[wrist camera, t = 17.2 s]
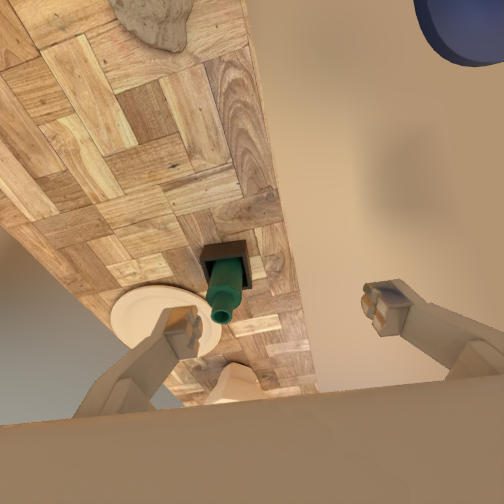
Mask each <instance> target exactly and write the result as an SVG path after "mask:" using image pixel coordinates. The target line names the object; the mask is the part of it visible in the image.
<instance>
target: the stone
mask: <svg viewBox="0 0 504 504" xmlns="http://www.w3.org/2000/svg"><path fill="white" fill-rule="evenodd" d="M108 1H109V3H110V4H111V6H112V8H113V10H114V12H115V15H116V17H117V18H118V20H119V21H120V22H121V24H122V25H123V26H124V27H126V29H127V30H128V31H133V32H134V34H135V35H136V36H137V37H139V38H140V39H141V40H142V41H144V42H145V43H147V44H148V45H150V46H152V47H155V48H158V49H167V50H170V51H172V52H173V53H175V52H177V51H179V52H181V51H182V50H183V49H184V48H185V45H186V41H187V36H186V31H185V22H186V19H187V17H188V16H189V14H190V12H191V10H192V7H193V1H192V0H108Z"/></svg>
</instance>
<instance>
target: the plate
mask: <svg viewBox="0 0 504 504" xmlns="http://www.w3.org/2000/svg"><path fill="white" fill-rule="evenodd" d="M189 305H196V306H197V309H198V313H197V315H199V316H200V317H201V319H202V323H203V332H202V336H201V338H200V339H199V340H198V341H199V344H200V346H199V351H198V355H197V357H200V356H203V355H205V354H207V353H208V352H210V351H211V350H212V349H213V348H214V347H215V346H216V345H217V343H218V342H219V340H220V338H221V333H222V324H218V323H215V322H214V321H212V319H211V311H212V307H211V306H210V305H209V304H208V303H207V301H205V300H204V299H202V298H201V297H199V296H198V295H196V294H194V293H192V292H189V291H186V290H184V289H180V288H176V287H172V286H164V285H152V286H144V287H140V288H136V289H134V290H131V291H129V292H127V293H126V294H124V295H123V296H121V297H120V298H119V300H118V301H117V302H116V303H115V305H114V306H113V308H112V311H111V325H112V328H113V330H114V332H115V333H116V335H117V336H118V338H119V339H120V340H121V341H122V342H123V343H125V344H126V345H127V346H128V347H130V348H132V349H133V348H134V347H135V346H137V345H138V344H139V343H140V342H141V341H142V340H144V339H145V338H146V337H149V336H150V335H151V333H152V331H153V329H154V327H155V325H156V323H157V321H158V319H159V317H160V314H161V312H162V310H163V309H165V308H172V307H179V306H189ZM191 359H194V358H191ZM184 360H190V359H184ZM179 361H183V360H179Z"/></svg>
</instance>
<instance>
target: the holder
mask: <svg viewBox="0 0 504 504" xmlns="http://www.w3.org/2000/svg"><path fill="white" fill-rule="evenodd" d="M234 257H242V262H243V267H242V290H246V289H252V272H251V266H250V261H249V255H248V249H247V243H246V240H239V241H232V242H225V243H218V244H210V245H204V248H203V251H202V253H201V256H200V262H201V265H202V268H203V271H204V275H205V278H206V281H207V284H208V286H209V282H210V278H211V274H212V270H213V266H214V262H215V260H219V259H227V258H234Z"/></svg>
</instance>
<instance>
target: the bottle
mask: <svg viewBox="0 0 504 504" xmlns="http://www.w3.org/2000/svg"><path fill="white" fill-rule="evenodd" d="M242 267H243V262H242V257H234V258H227V259H219V260H215V262H214V266H213V270H212V274H211V278H210V282H209V286H208V290H207V294H206V300H207V303H208V304H209V305H210V306H211V307H212V311H211V319H212V321H214V322H215V323H218V324H226V323H228V322H230V321H231V319H232V312H233V309H235V308H237V307H238V306H239V305H240V303H241V300H242Z"/></svg>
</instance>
